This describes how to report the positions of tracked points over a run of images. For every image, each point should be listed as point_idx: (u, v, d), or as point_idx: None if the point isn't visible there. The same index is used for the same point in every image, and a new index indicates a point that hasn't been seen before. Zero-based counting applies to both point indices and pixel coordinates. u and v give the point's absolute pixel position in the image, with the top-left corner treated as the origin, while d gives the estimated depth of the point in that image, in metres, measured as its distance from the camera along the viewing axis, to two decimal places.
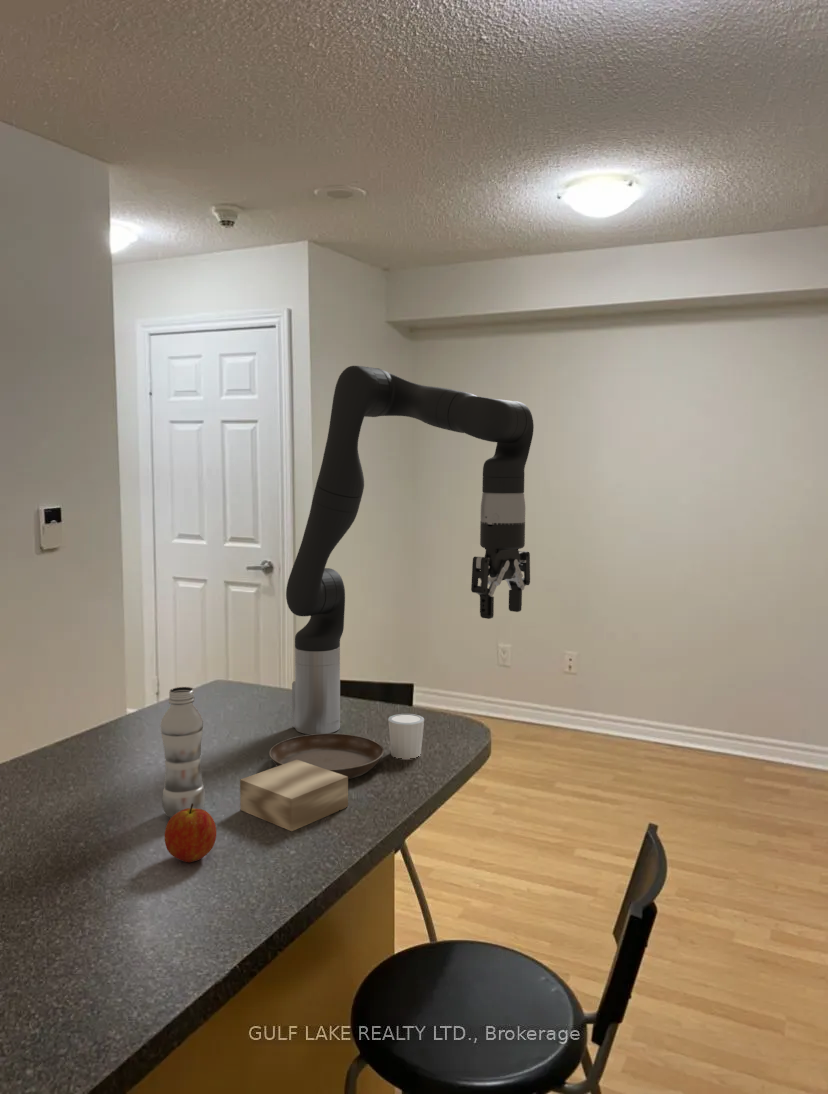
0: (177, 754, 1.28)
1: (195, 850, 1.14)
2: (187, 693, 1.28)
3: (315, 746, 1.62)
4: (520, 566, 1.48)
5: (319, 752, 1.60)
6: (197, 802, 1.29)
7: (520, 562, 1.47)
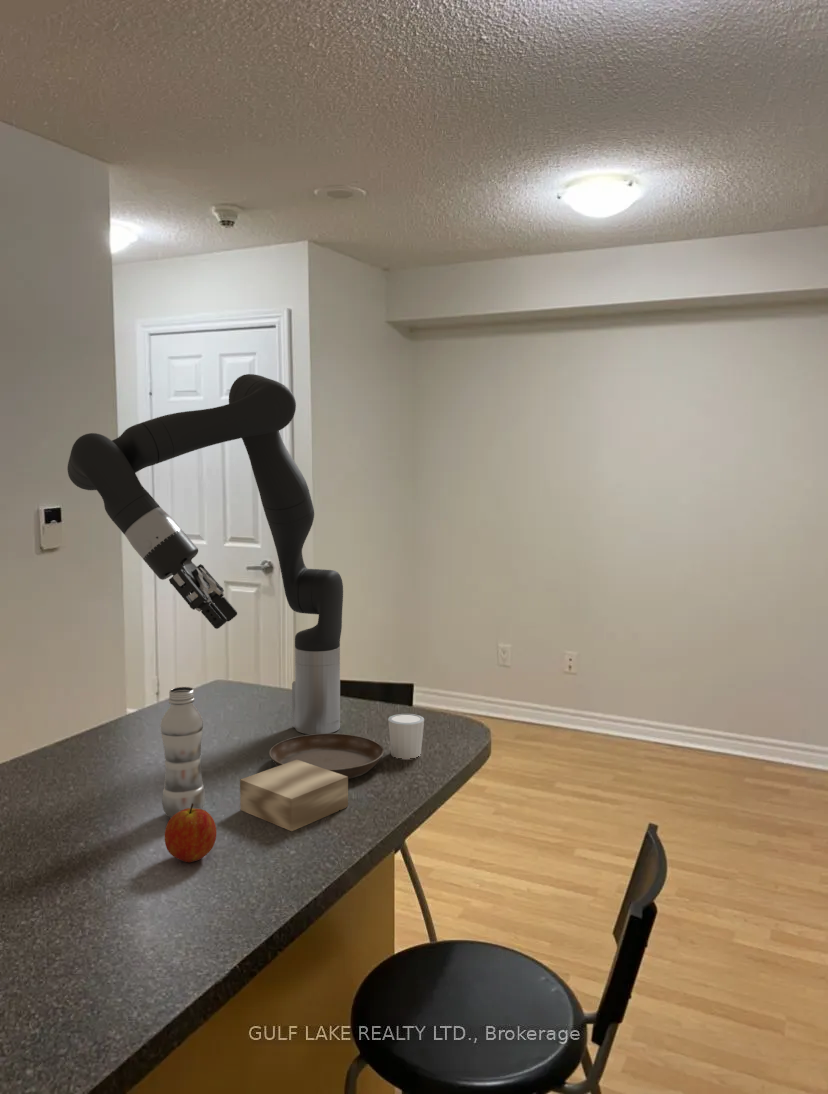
0: (177, 754, 1.28)
1: (195, 849, 1.14)
2: (187, 693, 1.28)
3: (315, 746, 1.62)
4: None
5: (319, 752, 1.60)
6: (197, 802, 1.29)
7: None
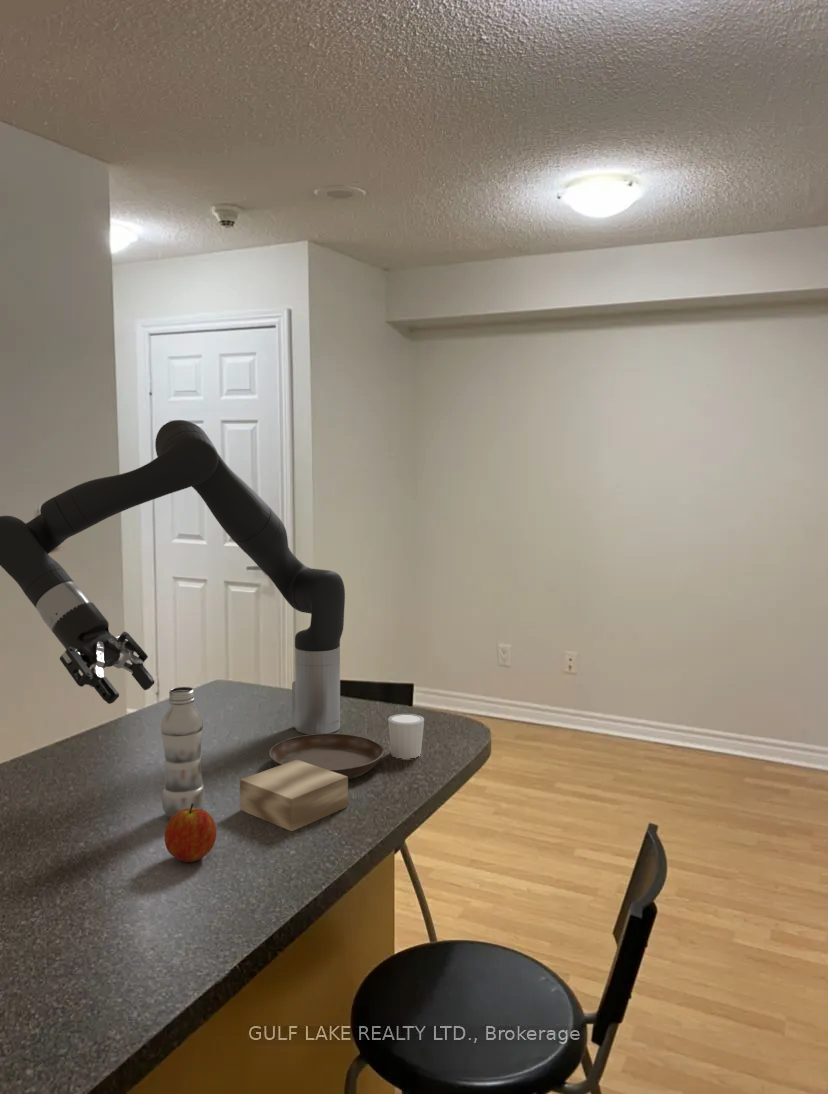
0: (177, 754, 1.28)
1: (195, 849, 1.14)
2: (187, 693, 1.28)
3: (315, 746, 1.62)
4: None
5: (319, 752, 1.60)
6: (197, 802, 1.29)
7: None
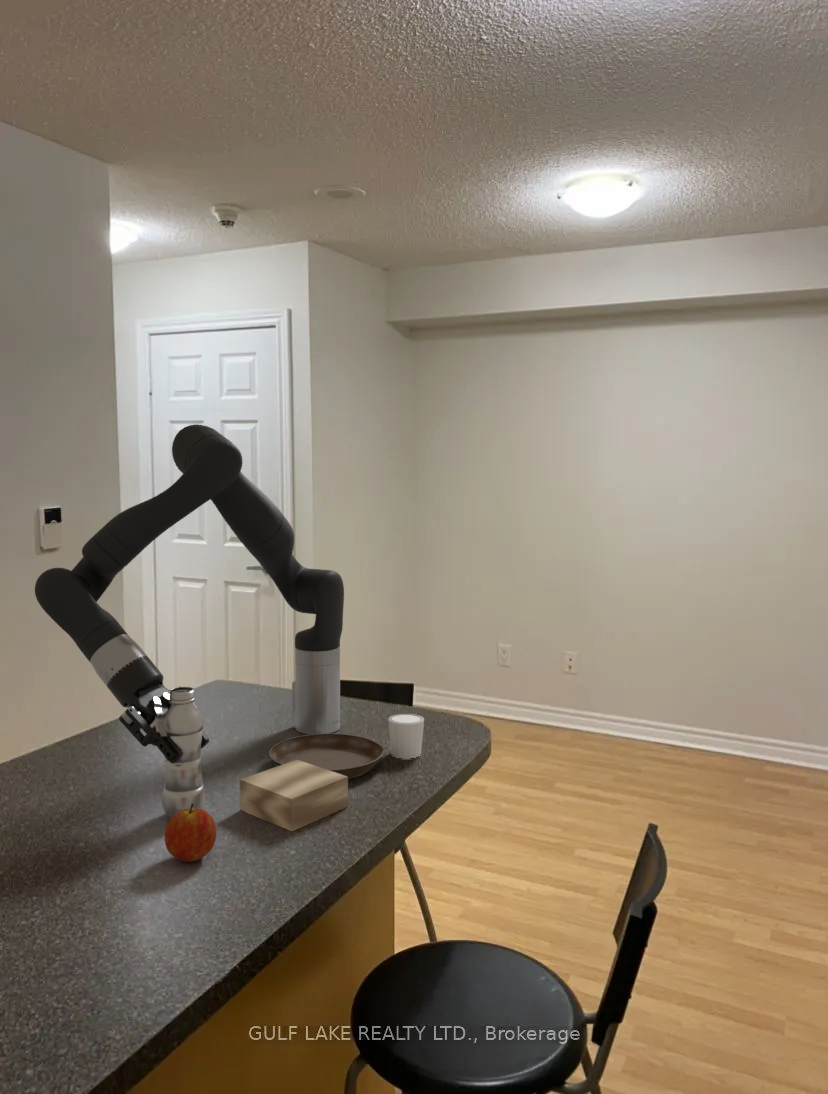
0: None
1: (196, 850, 1.14)
2: (188, 693, 1.28)
3: (315, 746, 1.62)
4: None
5: (319, 752, 1.60)
6: (197, 802, 1.29)
7: None
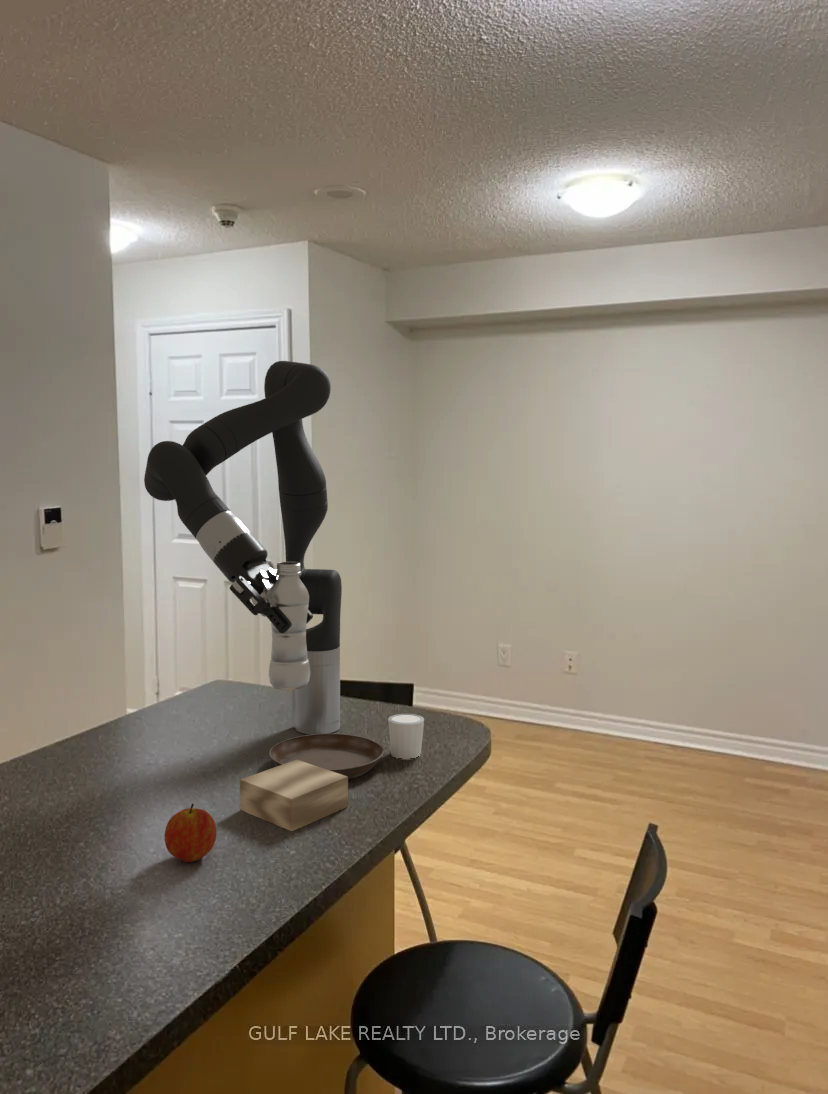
0: None
1: (196, 849, 1.14)
2: (295, 566, 1.29)
3: (315, 746, 1.62)
4: None
5: (319, 752, 1.60)
6: (303, 674, 1.31)
7: None
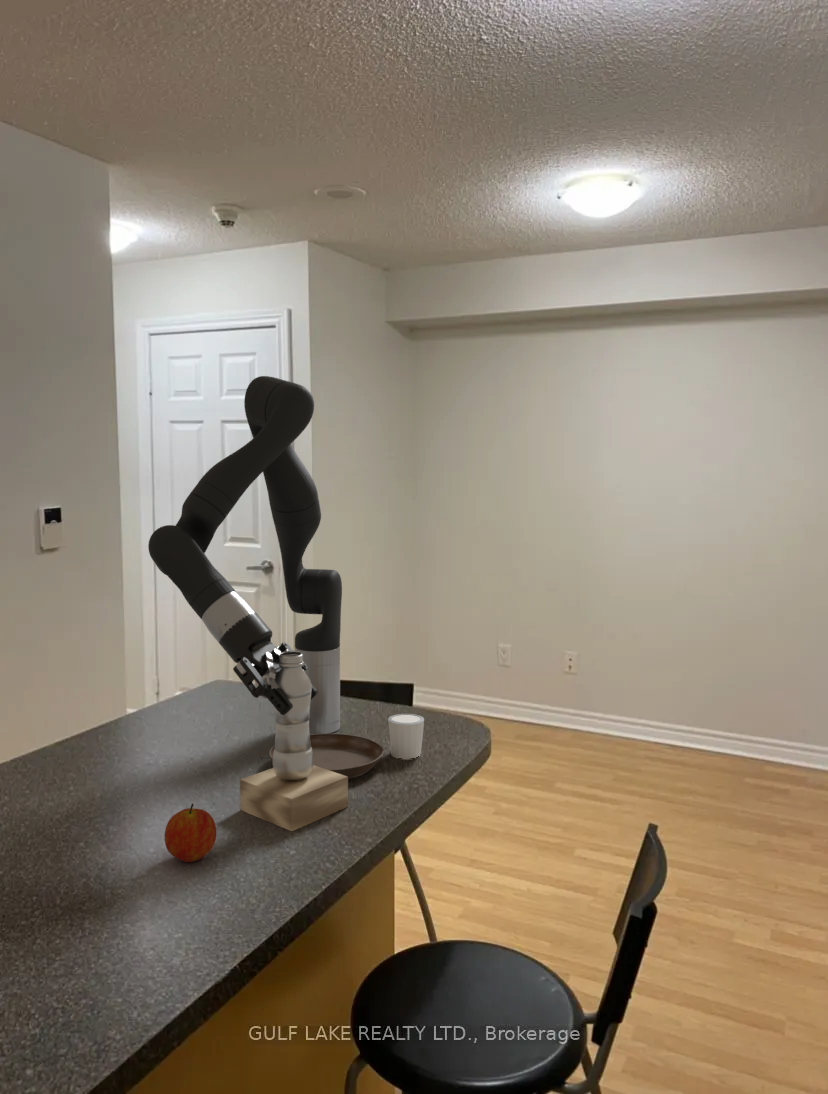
0: (289, 716, 1.30)
1: (195, 850, 1.14)
2: (298, 657, 1.31)
3: (315, 746, 1.62)
4: None
5: (319, 752, 1.60)
6: (307, 764, 1.32)
7: None
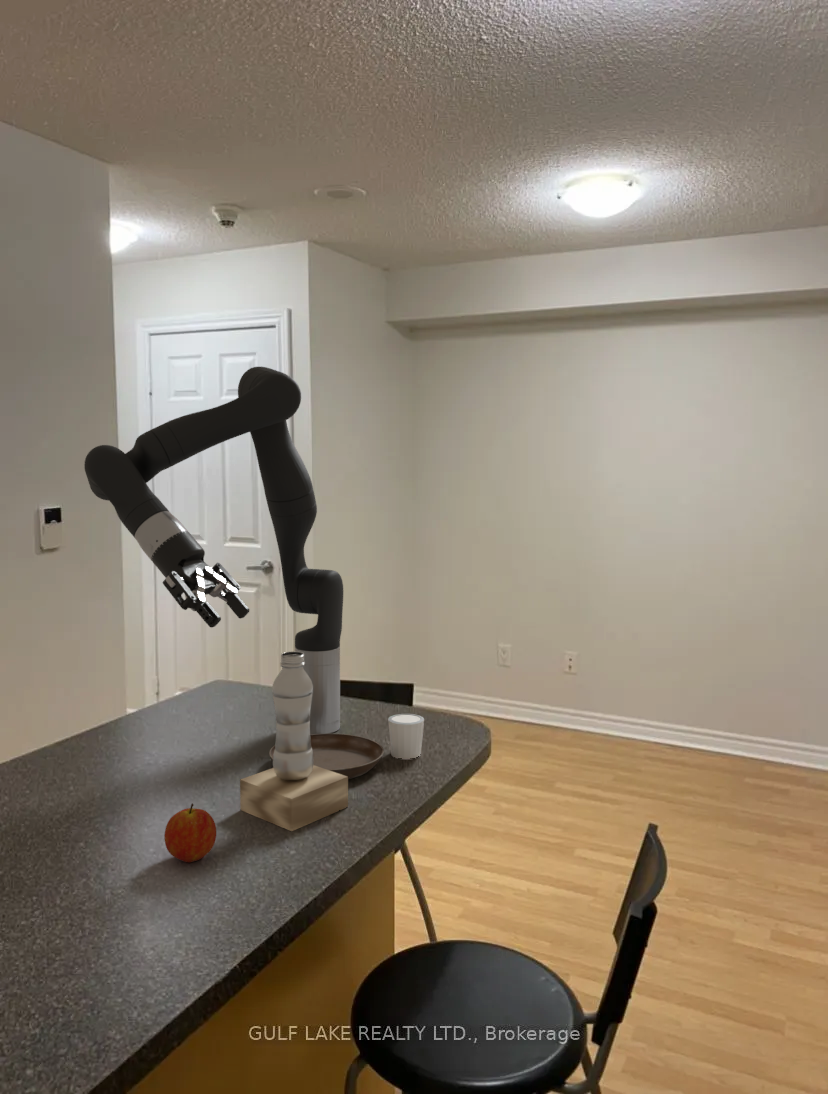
0: (290, 716, 1.30)
1: (195, 850, 1.14)
2: (299, 657, 1.31)
3: (315, 746, 1.62)
4: None
5: (319, 752, 1.60)
6: (307, 764, 1.32)
7: None
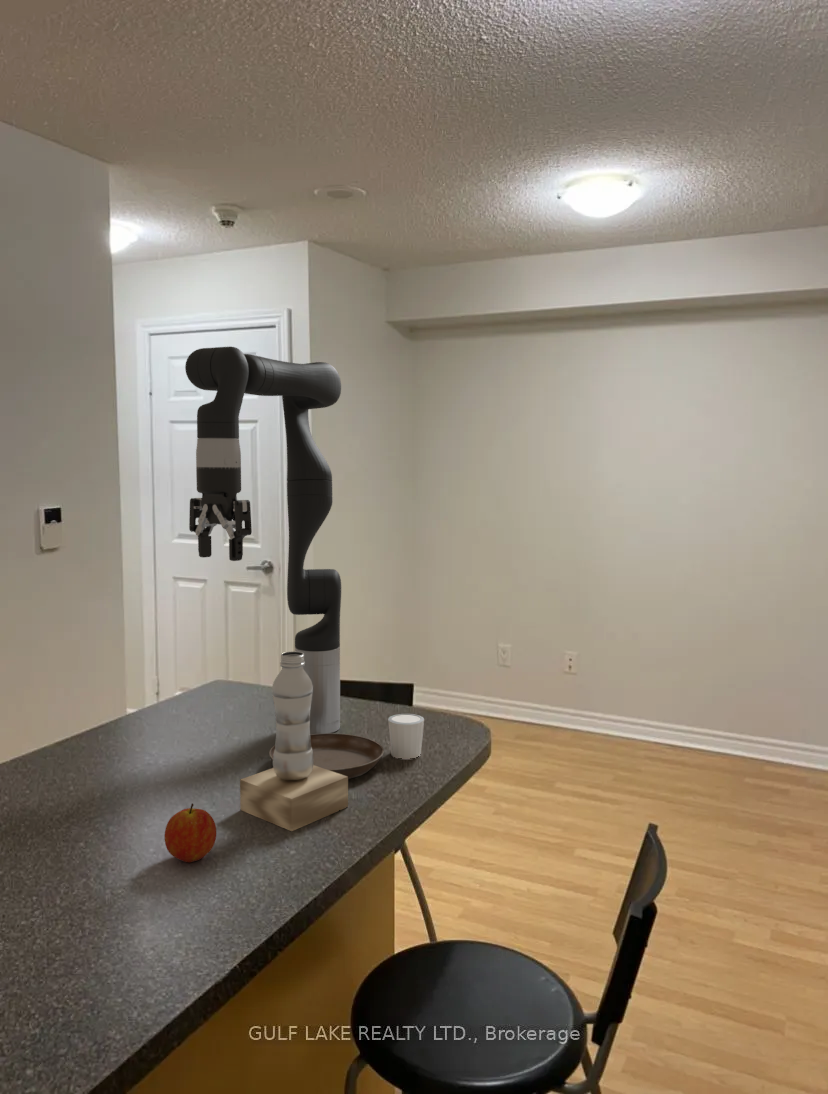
0: (290, 716, 1.30)
1: (195, 850, 1.14)
2: (299, 657, 1.31)
3: (315, 746, 1.62)
4: None
5: (319, 752, 1.60)
6: (307, 764, 1.32)
7: None
